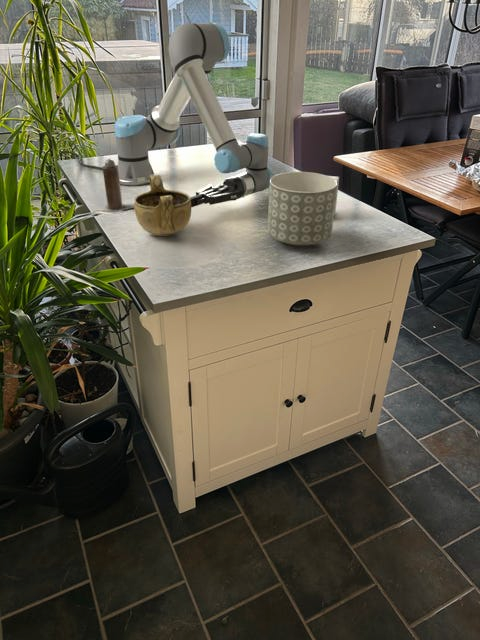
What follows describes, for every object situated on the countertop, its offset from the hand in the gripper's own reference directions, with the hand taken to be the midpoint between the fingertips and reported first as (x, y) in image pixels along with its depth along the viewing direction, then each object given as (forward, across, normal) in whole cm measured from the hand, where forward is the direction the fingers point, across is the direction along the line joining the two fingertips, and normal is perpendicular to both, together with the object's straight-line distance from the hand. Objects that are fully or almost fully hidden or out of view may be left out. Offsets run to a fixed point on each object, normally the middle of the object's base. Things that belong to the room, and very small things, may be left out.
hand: (186, 203), depth 158 cm
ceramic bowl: (+9, +1, -7) cm, 11 cm away
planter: (-15, -33, -7) cm, 37 cm away
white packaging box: (-38, -26, -7) cm, 47 cm away
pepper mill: (+6, +30, -7) cm, 31 cm away
